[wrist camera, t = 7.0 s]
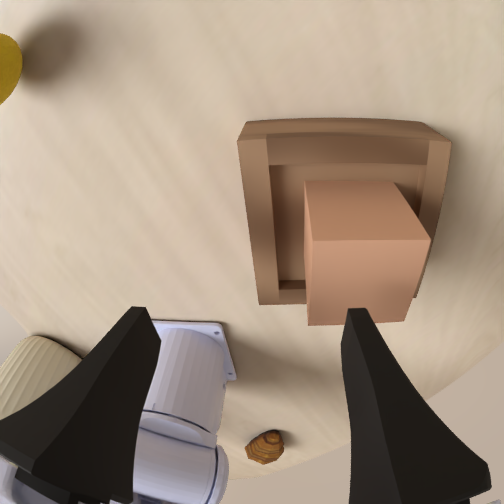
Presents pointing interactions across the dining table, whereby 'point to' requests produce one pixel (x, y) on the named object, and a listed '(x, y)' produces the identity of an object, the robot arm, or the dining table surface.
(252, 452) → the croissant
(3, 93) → the lemon
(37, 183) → the dining table surface
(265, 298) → the walnut base
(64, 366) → the canister
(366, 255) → the block
